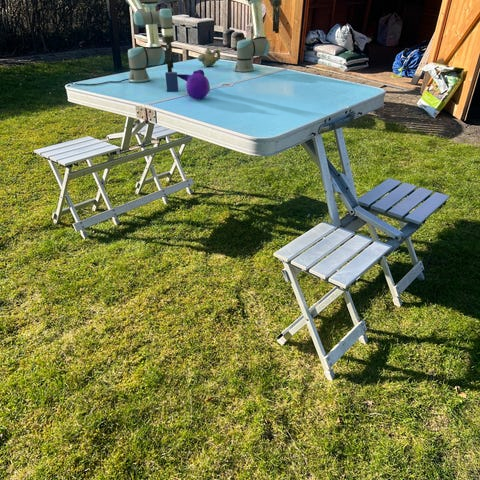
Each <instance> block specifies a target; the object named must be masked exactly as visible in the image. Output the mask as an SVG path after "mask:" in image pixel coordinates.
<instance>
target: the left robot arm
mask: <svg viewBox="0 0 480 480" xmlns="http://www.w3.org/2000/svg"><path fill="white" fill-rule="evenodd" d="M125 2H126V3H127V4H128V5H129V7H130V8H131V10H132V13H133V15H132V17H133V23H134V25H136V26H145V33H146V34H145V35H146V45H145V48H144V47H143V46H137V47H132V48H130V49H127V58H128V66H129V76H128V78H124V79H122V80H108V81H104V82H99V83H76V82H71V83H70V84H72V85H75V86H76V85H77V86H98V85H99V86H100V85H103V84H108V83H109V84H110V83H122V82H125V81H128V82H129V83H133V84H141V83H148V82H150V76H149V74H148V71H147V66H158V65H163V64H164V63H166V67H167V72H173V69H174V55H173V45H172V43H174V42H175V36H174V25H173V24H174V23H173V11H172V9H171V8H160V9H159V10H157V9H156V6H157V5H158V2H160V0H125ZM158 25H160V28H161V29H160V32H161V41H162V43H163V44H165V47H163V46H162V44H161V42H160V37H159V28H158V27H159V26H158ZM165 59H166V60H165ZM73 83H75V84H73ZM70 86H71V85H69V84H67V87H70Z"/></svg>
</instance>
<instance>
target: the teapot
mask: <svg viewBox="0 0 480 480" xmlns="http://www.w3.org/2000/svg"><path fill="white" fill-rule="evenodd" d="M204 52H205V53H200V54H199V55H198V56H197V60H198V61H199V62H201V64H202V65H203V66H204V67H206V68H208V67H210V68H211V67H213V66H214V65H215V64H216V62H218V61H219V60H220V59H221V51H220V50H219V49H218V48H217V49H214V50H213V51H212V50H211V49H210V47H206V50H205V51H204ZM215 55H216V56H215Z"/></svg>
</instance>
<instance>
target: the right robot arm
mask: <svg viewBox="0 0 480 480" xmlns="http://www.w3.org/2000/svg"><path fill="white" fill-rule="evenodd" d="M282 2H283V1H282V0H270V6H271V7H272V19H271V20H272V32H274V34H280V6H282V5H283V4H282ZM262 3H263V0H247V4H248V5H249V6H250V15H251V24H252V33H253V37H252V38H246V39H241V40H238V41H237V43H236V64H235V66H234V72H237V73H250V72H254V71H255V68H254V65H253V61H252V57H264V56H265V57H266V56H267V55H268V54H269V53H270V49H271V47H270V46H271V45H270V43H271V42H270V39H269V40H268V39H267V36H266V35H265V30H264V29H265V28H264V21H263V19H264V18H263V11H262Z"/></svg>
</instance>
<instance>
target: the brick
mask: <svg viewBox="0 0 480 480" xmlns="http://www.w3.org/2000/svg"><path fill="white" fill-rule="evenodd" d="M176 74H178V72H177V71H172V72H168V71H166V72H165V73H164V75H165V85H166V92H167V93H175V92H176V93H178V92H179V81H178V80H179V79H178V78H179V77H178V76H176Z"/></svg>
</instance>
